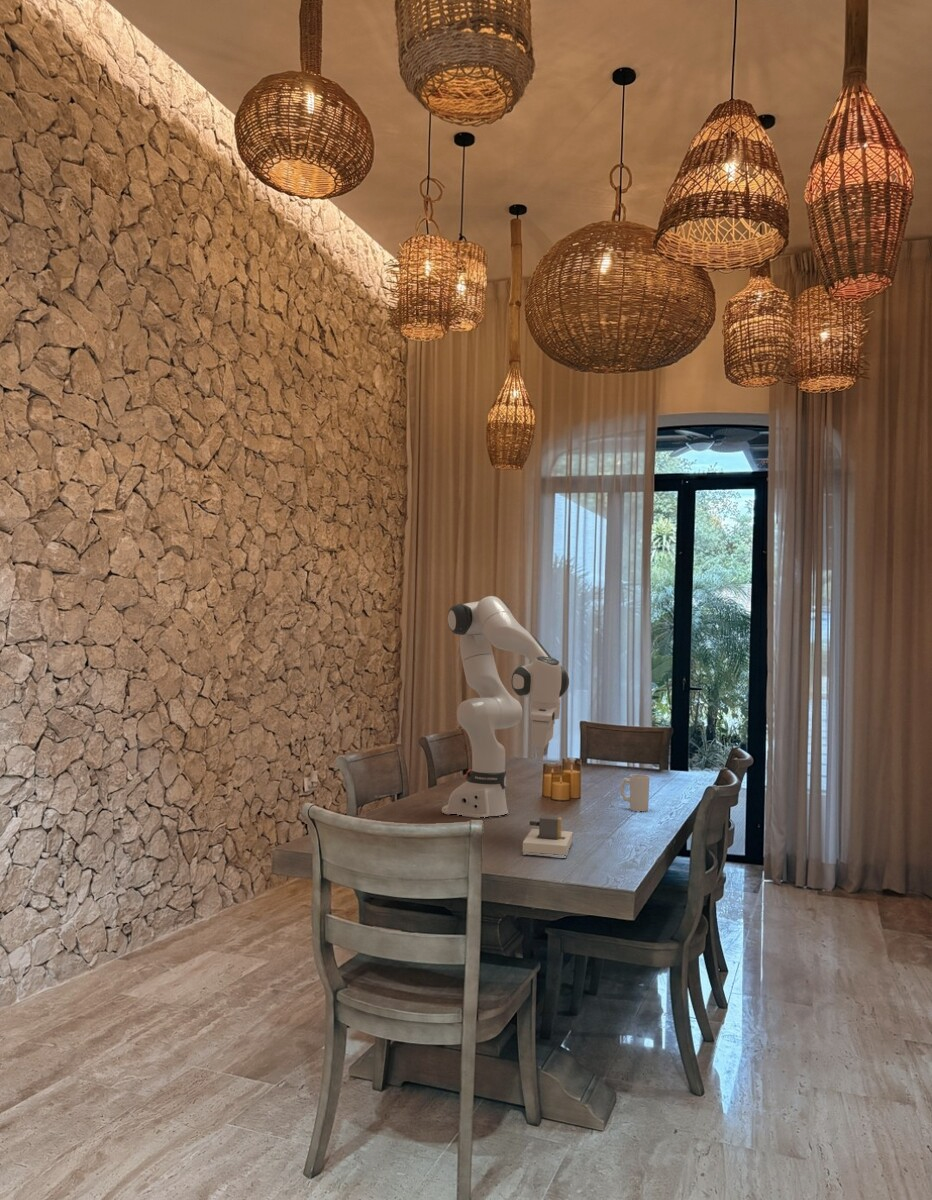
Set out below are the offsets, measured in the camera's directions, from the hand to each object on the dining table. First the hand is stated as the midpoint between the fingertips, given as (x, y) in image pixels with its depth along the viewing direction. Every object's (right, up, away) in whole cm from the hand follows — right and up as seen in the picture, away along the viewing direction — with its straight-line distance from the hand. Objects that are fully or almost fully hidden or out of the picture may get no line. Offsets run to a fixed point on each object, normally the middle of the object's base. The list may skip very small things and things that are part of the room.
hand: (541, 757), depth 270 cm
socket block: (+1, -24, -13) cm, 27 cm away
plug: (+1, -23, -13) cm, 26 cm away
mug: (+36, -27, +48) cm, 66 cm away
